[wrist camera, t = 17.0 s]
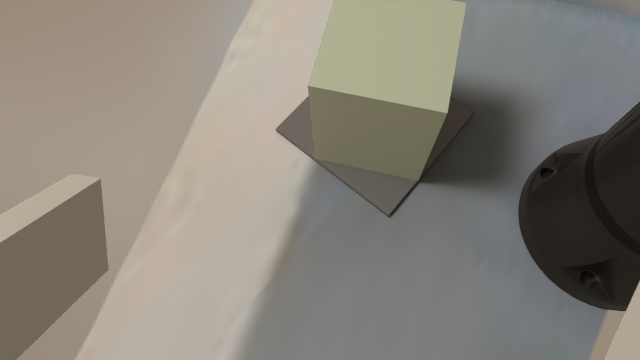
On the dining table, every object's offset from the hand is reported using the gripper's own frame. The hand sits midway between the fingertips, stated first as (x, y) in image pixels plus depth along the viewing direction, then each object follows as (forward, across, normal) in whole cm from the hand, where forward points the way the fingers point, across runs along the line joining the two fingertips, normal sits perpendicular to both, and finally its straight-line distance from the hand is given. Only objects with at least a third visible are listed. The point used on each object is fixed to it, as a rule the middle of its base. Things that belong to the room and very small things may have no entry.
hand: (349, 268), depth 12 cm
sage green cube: (+35, 0, -6) cm, 36 cm away
